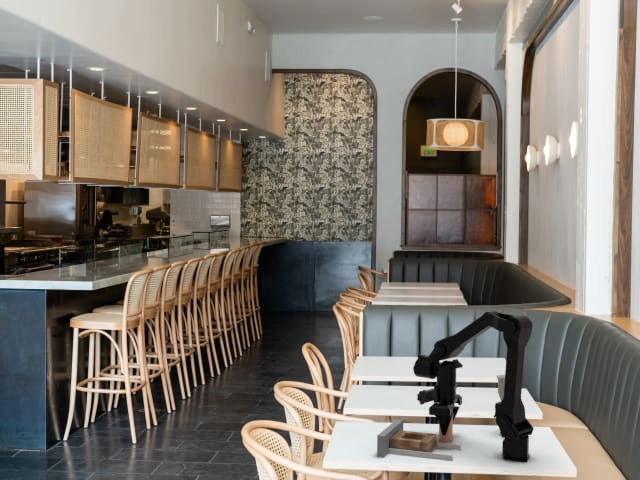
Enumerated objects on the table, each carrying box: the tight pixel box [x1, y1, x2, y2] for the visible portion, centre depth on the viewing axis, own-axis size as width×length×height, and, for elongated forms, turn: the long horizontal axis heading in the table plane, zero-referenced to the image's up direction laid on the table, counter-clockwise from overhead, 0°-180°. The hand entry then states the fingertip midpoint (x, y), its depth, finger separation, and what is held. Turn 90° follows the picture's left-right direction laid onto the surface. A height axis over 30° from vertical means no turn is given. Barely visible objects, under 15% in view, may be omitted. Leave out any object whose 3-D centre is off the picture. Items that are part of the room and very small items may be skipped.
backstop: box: [376, 419, 462, 462], centre depth 231 cm, size 20×20×6 cm
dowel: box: [438, 412, 454, 444], centre depth 241 cm, size 4×4×9 cm
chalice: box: [496, 374, 505, 437], centre depth 249 cm, size 7×7×18 cm
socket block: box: [390, 430, 437, 453], centre depth 232 cm, size 11×10×4 cm
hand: (445, 433), depth 241 cm, fingers open, 5 cm apart
